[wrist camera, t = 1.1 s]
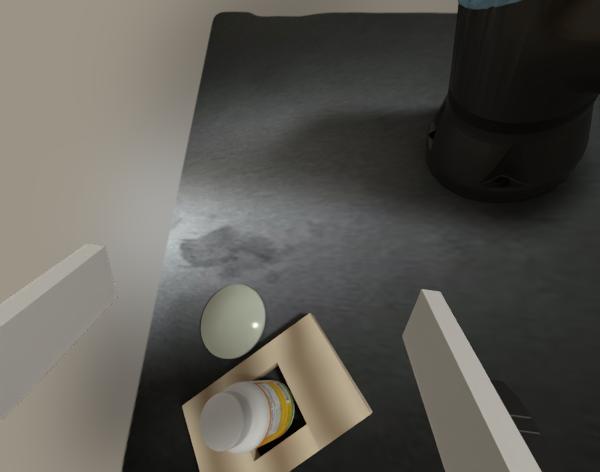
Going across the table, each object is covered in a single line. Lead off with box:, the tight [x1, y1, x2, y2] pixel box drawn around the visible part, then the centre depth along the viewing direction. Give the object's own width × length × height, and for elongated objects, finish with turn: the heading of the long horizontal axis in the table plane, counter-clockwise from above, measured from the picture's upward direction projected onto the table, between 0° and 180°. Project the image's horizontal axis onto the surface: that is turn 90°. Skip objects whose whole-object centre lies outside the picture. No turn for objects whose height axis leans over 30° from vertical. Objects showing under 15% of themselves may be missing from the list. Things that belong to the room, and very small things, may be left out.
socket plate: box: [182, 313, 372, 472], centre depth 30 cm, size 18×11×2 cm, turn 121°
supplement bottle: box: [200, 380, 295, 454], centre depth 27 cm, size 5×5×10 cm
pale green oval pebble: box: [201, 284, 266, 359], centre depth 36 cm, size 9×9×1 cm
